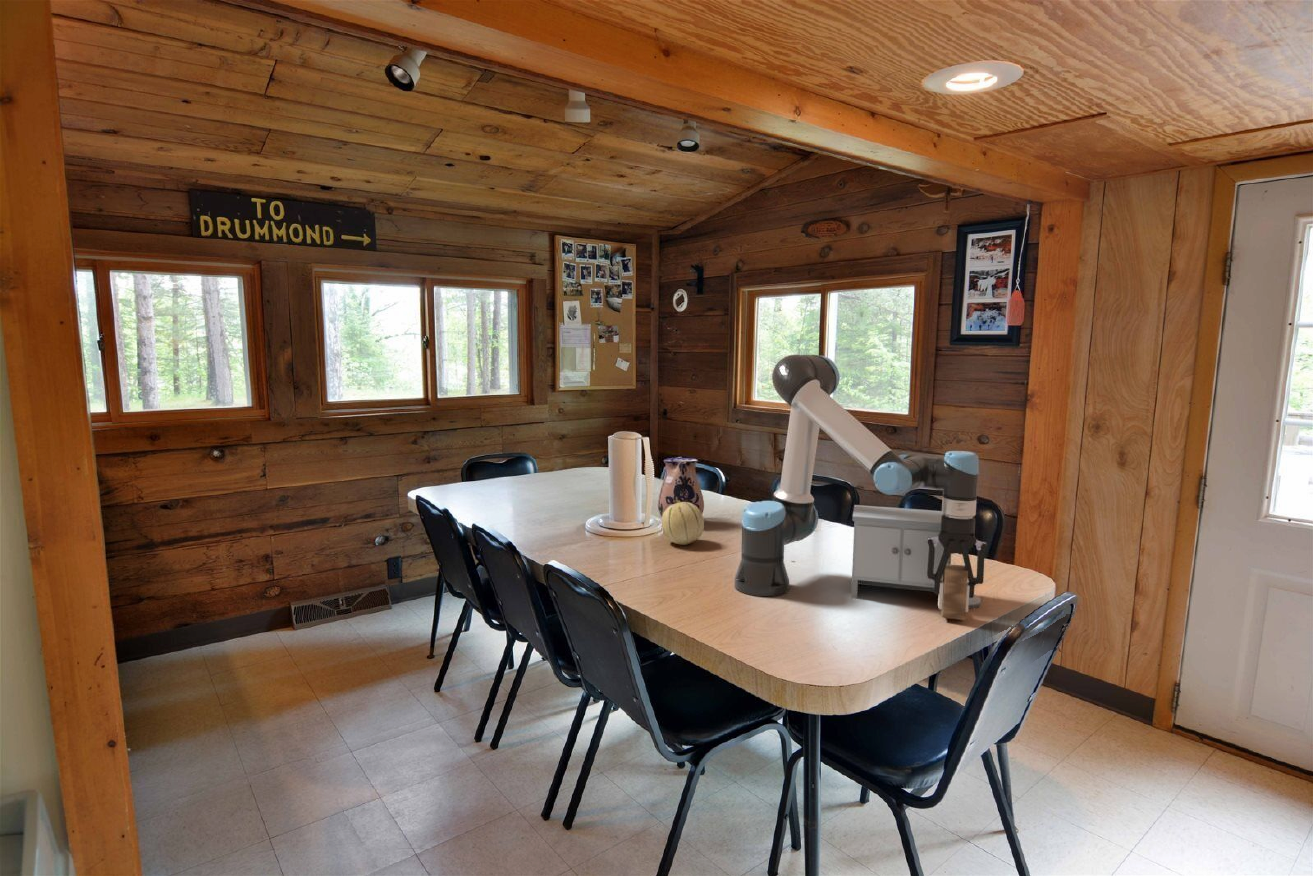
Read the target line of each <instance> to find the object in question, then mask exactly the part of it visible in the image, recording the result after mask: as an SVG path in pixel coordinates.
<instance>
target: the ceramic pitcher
mask: <svg viewBox="0 0 1313 876" xmlns="http://www.w3.org/2000/svg"><path fill="white" fill-rule="evenodd" d="M698 461H699V459H696V458H688V457H682V456H678V457H671V458H670V457H669V458H666V459H664V460H663V462H664V464H665V469H666V470H665V475H664V477H663V480H662V483H661V487H660V490H659V494H658V501H657V508H658V509H657V510H658V512H659V515H660V517H661V518H662V515H663V513H664V511H665V510H666V509H667V508H668V507H669V506H671V505H672V504H675V503H676V502H674V500H677V501H679V502H688V503H692V504H693V505H695V506H696V507H697V508H698V509H699V510H700V512H701V514H702V515H703V513H704V509H705V501H704V495H703V493H702V489H701V486H700V482H699V478H698V476H697V472H696V466H697V464H698Z"/></svg>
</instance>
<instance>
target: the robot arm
mask: <svg viewBox="0 0 1313 876" xmlns="http://www.w3.org/2000/svg"><path fill="white" fill-rule="evenodd" d="M840 378H841V377H840V371H839V369H838V367H837V365H836V364H835V362H834V361H833V360H832V359H831V358H829V357H827V356H824V355H819V354H789V355H786V356H784V357H782V358H781V359H780V360H779V361H777V363H776V364H775V366H774V368H773V370H772V375H771V380H772V385H773V388H774V390H775V392H776V393H777V394H778V395H779V396H780V398H781V399H782V401H784V402H785V403H786V404H787V405H788V406H789V407H790V411H789V412H790V413H789V421H788V428H787V434H786V441H785V448H784V449H785V450H784V455H783V456H784V457H783V462H782V468H781V469H782V470H781V476H780V477H781V478H780V484H779V488H778V489H776V491H774V492H773V497H772V500H762V501H753V502H751V503H749V504H747V505H745V507H744V508H743V511H742V517H741V521H740V523H741V555H740V556H741V558H740V562H739V565H738V568H737V569H736V570H737V571H736V574H735V576H734V584H733V585H734V588H735V590H737V591H739V592H740V593H744V594H747V595H752V596H758V597H774V596H782V595H783V594H784V595H785V594H786V593H788V592H789V591H790V578H789V576H788V571H787V568H786V566H785V560H784V559H785V558H784V557H785V545H789V544H791V543H795V542H799V541H802V540H804V539H806V538H808V537H809V536H811V535H812V534H813V532H815V530H816V528H817V526H818V522H819V514H818V510H817V509H816V506H815V505H814V504H815V498H814V496H813V495H812V494H811V487H812V482H813V481H812V479H813V474H814V468H815V459H816V454H817V453H816V452H817V448H818V442H819V441H818V439H819V435H820V429H821V430H822V431H823V432H824V433H825V434H826V435H827V436H829V437H830V438H831V439H832V440H833V441H834V442H835V443H836V444H837V445H839V447H841V448H842V449H843V451H845V452H846V453H847V454H848V455H850V456H851V458H852V459H854V460H855V461H856V462H857V463H858V464H860V466H861V467H862V468H864V469H865V470H866V471H867V472H868V473H869V474H870V475H871V476H873V483H874V485H875V487H876V489H877V490H878V491H879V492H880V493H882V494H884V495H887V496H888V495H889V496H893V495H901V494H905V493H906V492H908V491H911V490H914V489H918V488H921V487H922V488H933V489H938V490H939V489H940V490H942V501H941V502H942V503H941V511H942V513H944V514H943V515H942V516H941V531H940V534H939V535H938V537H934V538H931V537H928V538H927V542H928V545H929V554H928V567H927V576H928V578H929V579H932V580H934V581H935V582H934V592H933V593H934V594H935V595H938V598H937V600H938V601H937V606H938V610H940V609H942V603H943V586H944V583H943V580H941V578H942V575H943V573H944V570H945V567H946V564H947V562H948V559H949V557H950V554H951V555H954V554H958V555H962V558H963V563H964V566H965V568H966V570H967V571H968V582H967V597H966V611H965V613H968V612H969V608H968V605H969V598H973V597H974V595H975V586H976V585H979V584H980V585H982V584H983V583H984V578H985V577H984V573H985V554H986V551H988V550H987V549H988V547H989V546H988V544H987V542H986V541H981V540H978V539H977V538H976V536H975V530H976V518H975V516H976V515H977V512H976V511H977V497H978V496H977V495H978V484H979V474H980V471H979V456H978V455H977V454H976V452H971V451H963V450H960V451H959V450H950V451H949V450H948V451H946V452H945V454H944V457H930V456H922V455H915V454H900V455H898V454H896V453H895V452H894V451H893V450H892V449H891V448H890V447H889V446H887V445H886V444H885V443H884V442H883V441H882V440H881V439H880V438H878V437H877V436H876V435H875V434H874V433H873V432H872V431H870V430H869V429H868V428H867V427H866V426H865V425H864V424H863V423H862V422H860V420H858V419H857V418H855V417H854V416H853V415H852V414H851V413H850V412H849V411H847V410H846V409H845V408H844V407H843V406H842V405H841V404H840V403H838V401H836V400H835V399H834V398H833V397H831V395H832V394H833V393H834V392H835V391H837V389H838V386H839V384H840ZM939 541H940V543H941V544H942V546H943V547H944V551H943V555H942V557H941V560H940V563H939V566H938V568H937V571H936V574H934V573H933V569H934V557H935V547H936V546H937V543H938V542H939ZM974 546H976V547H975V548H976V550H977V555H976V556H977V558H976V559H977V560H976V561H977V563H976V577H975V576H974V573H973V569H972V564H971V560H970V555H969V551H971V549H972V548H973V547H974Z"/></svg>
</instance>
